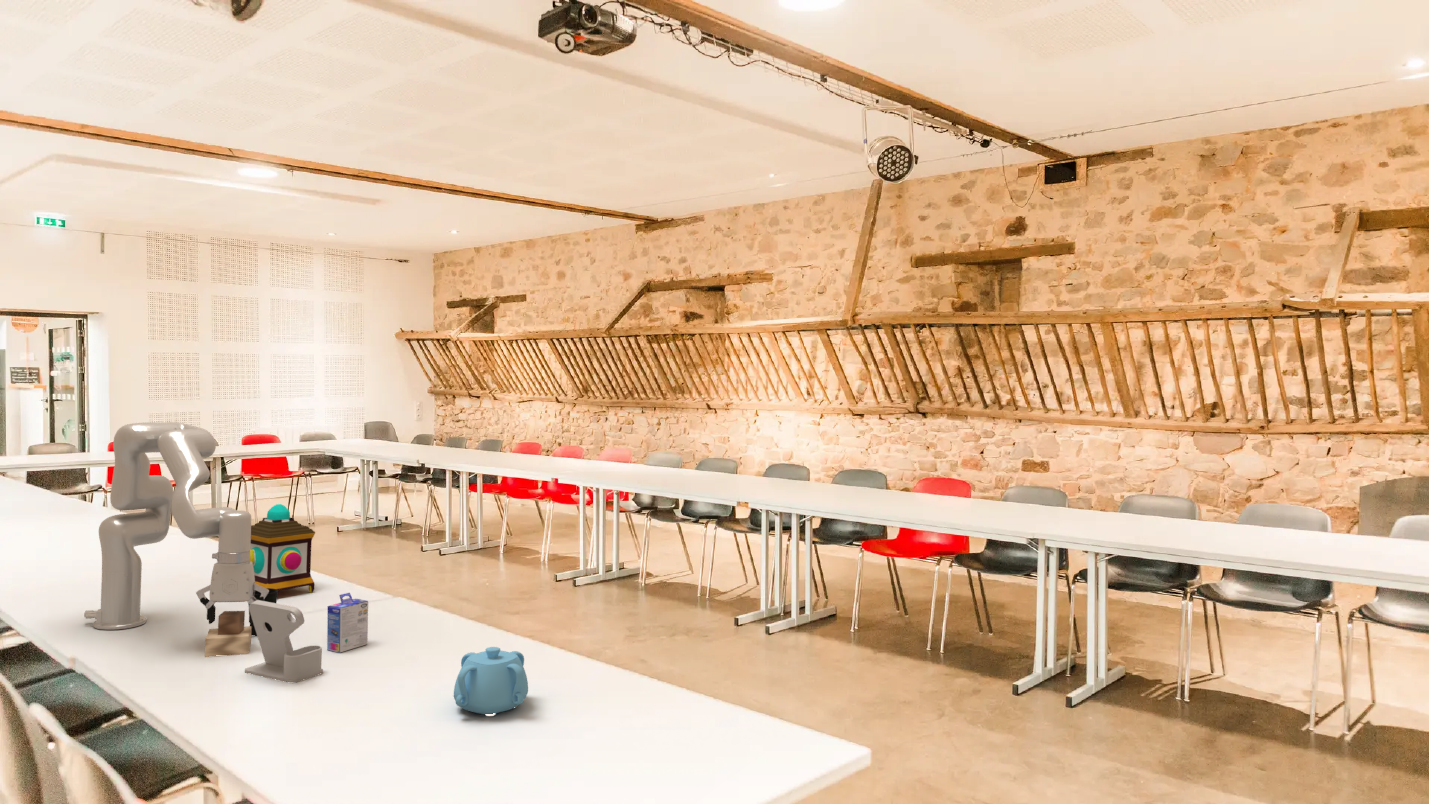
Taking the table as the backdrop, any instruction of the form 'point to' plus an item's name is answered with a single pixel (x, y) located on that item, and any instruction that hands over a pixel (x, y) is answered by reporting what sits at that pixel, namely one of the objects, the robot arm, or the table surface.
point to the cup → (269, 598)
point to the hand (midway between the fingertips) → (231, 621)
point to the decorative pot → (491, 681)
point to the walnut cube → (231, 622)
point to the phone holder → (282, 644)
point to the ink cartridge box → (347, 624)
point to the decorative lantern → (281, 551)
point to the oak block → (227, 643)
